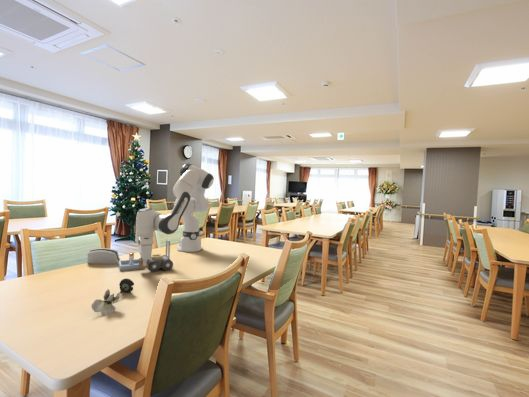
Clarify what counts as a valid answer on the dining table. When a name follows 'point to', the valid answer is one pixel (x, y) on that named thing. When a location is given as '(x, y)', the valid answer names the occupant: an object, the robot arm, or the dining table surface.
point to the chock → (142, 264)
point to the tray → (125, 265)
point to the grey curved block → (103, 256)
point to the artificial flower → (111, 298)
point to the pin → (131, 258)
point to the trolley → (160, 260)
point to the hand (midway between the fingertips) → (143, 264)
